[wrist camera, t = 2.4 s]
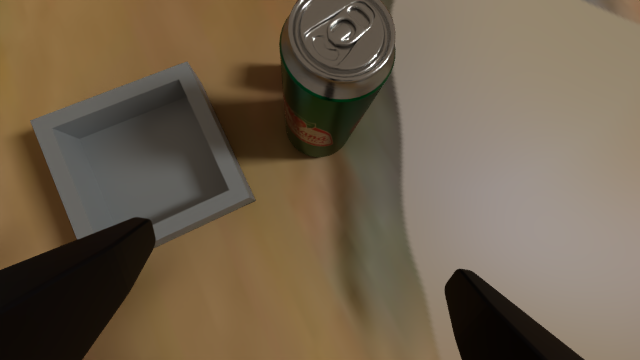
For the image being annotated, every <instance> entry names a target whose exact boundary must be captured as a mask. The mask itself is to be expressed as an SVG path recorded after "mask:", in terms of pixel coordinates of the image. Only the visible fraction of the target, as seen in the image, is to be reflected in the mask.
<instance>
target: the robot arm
mask: <svg viewBox="0 0 640 360" xmlns="http://www.w3.org/2000/svg"><path fill="white" fill-rule="evenodd" d="M155 242H156V237H155V233H154V229H153V224H152V221H151V220H150V219H147V218H141V217H134V218H131V219H128V220H126V221H123V222H121V223H118V224H116V225H113V226H111V227H108V228H106V229H103V230H101V231H98V232H95V233H93V234H90V235H88V236H85V237H83V238H80V239H78V240H75V241H73V242H70V243H68V244H65V245H63V246H60V247H58V248H55V249H52V250H50V251H47V252H45V253H42V254H40V255H37V256H35V257H32V258H30V259H27V260H25V261H22V262H19V263H17V264H14V265H12V266H9V267H7V268H4V269H2V270H0V360H82V359H83V358H84V356H85V355H86V353H87V352H88V351H89V349H90V348H91V346H92V345H93V344H94V342H95V341H96V339H97V338H98V336H99V335H100V334H101V332H102V331H103V329H104V328H105V326H106V325H107V324H108V322H109V321H110V319H111V318H112V316H113V315H114V314H115V312H116V311H117V309H118V308H119V306H120V305H121V304H122V302H123V301H124V299H125V298H126V296H127V295H128V293H129V292H130V290H131V288H132V287H133V285H134V283H135V281H136V280H137V278H138V276H139V274H140V272H141V270H142V269H143V267H144V265H145V263H146V261H147V259H148V258H149V256H150V254H151V252H152V250H153V248H154V246H155ZM445 296H446V300H447V305H448V310H449V314H450V319H451V323H452V328H453V332H454V336H455V340H456V343H457V346H458V349H459V352H460V355H461V358H462V360H584V359H583V358H582V357H580V356H579V355H578V354H577V353H575V352H574V351H573V350H572V349H570V348H569V347H568V346H567V345H565V344H564V343H563V342H561V341H560V340H559V339H558V338H556V337H555V336H554V335H552V334H551V333H550V332H549V331H548V330H546V329H545V328H544V327H542V326H541V325H540V324H538V323H537V322H536V321H535V320H533V319H532V318H531V317H530V316H528V315H527V314H526V313H525V312H523V311H522V310H521V309H520V308H518V307H517V306H516V305H515V304H513V303H512V302H510V301H509V300H508V299H507V298H506V297H504V296H503V295H502V294H501V293H499V292H498V291H497V290H496V289H494V288H493V287H492V286H490V285H489V284H488V283H487V282H485V281H484V280H483V279H482V278H480V277H479V276H477V274H475V273H474V272H472V271H470V270H465V269H457V270H456V271H455V272H454V274H453V275H452V277H451V278H450V279H449V280H448V282H447V283H446V285H445Z"/></svg>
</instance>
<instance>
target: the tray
mask: <svg viewBox="0 0 640 360" xmlns="http://www.w3.org/2000/svg"><path fill="white" fill-rule="evenodd" d="M31 124H32V126H33V129H34V131H35V134H36V136H37V139H38V142H39V144H40V147H41V149H42V152H43V154H44V157H45V159H46V162H47V164H48V167H49V169H50V172H51V174H52V177H53V180H54V182H55V185H56V187H57V190H58V192H59V195H60V197H61V200H62V202H63V205H64V207H65V210H66V213H67V215H68V218H69V220H70V223H71V225H72V228H73V230H74V233H75V235H76V238H77V240H78V239H80V238H83V237H85V236H88V235H90V234H93V233H95V232H98V231H101V230H103V229H106V228H108V227H111V226H113V225H116V224H118V223H121V222H123V221H126V220H128V219H131V218H134V217H141V218H147V219H150V220H151V221H152V224H153V229H154V233H155V237H156V242H155V246H154V248H155V247H157V246H160V245H162V244H164V243H166V242H168V241H170V240H172V239H175V238H177V237H179V236H181V235H183V234H185V233H187V232H190V231H192V230H194V229H196V228H198V227H200V226H202V225H205V224H207V223H209V222H211V221H213V220H215V219H217V218H220V217H222V216H224V215H226V214H228V213H230V212H232V211H235V210H237V209H239V208H241V207H243V206H245V205H247V204H250V203H252V202H254V201H256V200H255V198H254V196H253V193H252V191H251V189H250V187H249V185H248V183H247V181H246V178H245V176H244V174H243V172H242V170H241V168H240V165H239V163H238V161H237V159H236V157H235V155H234V152H233V150H232V148H231V146H230V144H229V142H228V139H227V137H226V135H225V133H224V131H223V129H222V127H221V124H220V122H219V120H218V118H217V116H216V114H215V111H214V109H213V107H212V105H211V103H210V101H209V98H208V96H207V94H206V92H205V90H204V88H203V85H202V83H201V82H200V80H199V78H198V77H197V75H196V74H195V72H194V71H193V69H192V68H191V66H190V65H189V63H188V62H185V63H182V64H179V65H177V66H174V67H171V68H169V69H166V70H163V71H161V72H158V73H155V74H153V75H150V76H147V77H145V78H142V79H139V80H137V81H134V82H131V83H129V84H126V85H124V86H121V87H118V88H116V89H113V90H110V91H108V92H105V93H102V94H100V95H97V96H94V97H92V98H89V99H86V100H84V101H81V102H78V103H76V104H73V105H70V106H68V107H65V108H63V109H60V110H57V111H55V112H52V113H49V114H47V115H44V116H41V117H39V118H36V119H33V120H31Z"/></svg>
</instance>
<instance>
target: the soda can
mask: <svg viewBox="0 0 640 360" xmlns="http://www.w3.org/2000/svg"><path fill="white" fill-rule="evenodd" d="M279 46H280V59H281V72H282V84H283V97H284V110H285V122H286V132H287V135H288V138H289V140H290V141H291V143H292V144H293V145H294V147H295V148H296V149H298V150H299V151H300V152H302V153H304V154H306V155H308V156H312V157H325V156H329V155H332V154H334V153H335V152H337V151H338V150H340V149H341V148H342V147H343V146H344V144H345V143H346V141H347V140H348V138H349V137H350V135H351V134H352V132H353V131H354V129H355V128H356V126H357V125H358V123H359V121H360V120H361V118H362V117H363V115H364V114H365V112H366V111H367V109H368V108H369V106H370V105H371V103H372V102H373V100H374V99H375V97H376V96H377V94H378V93H379V91H380V89H381V88H382V86H383V85H384V83H385V82H386V80H387V79H388V77H389V75H390V74H391V71H392V68H393V66H394V61H395V27H394V23H393V19H392V17H391V15H390V13H389V11H388V9H387V8H386V6H385V5H384V3H383V2H382V1H381V0H298V1H297V2H296V4H295V5H294V7H293V9H292V11H291V13H290V15H289V16H288V18H287V19H286V21H285V23H284V25H283V27H282V31H281V34H280V43H279Z"/></svg>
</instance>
